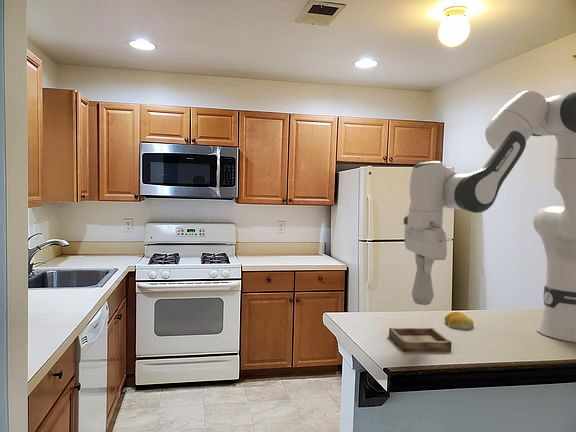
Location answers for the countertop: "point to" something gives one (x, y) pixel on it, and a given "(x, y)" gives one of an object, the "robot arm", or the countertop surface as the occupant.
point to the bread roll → (458, 320)
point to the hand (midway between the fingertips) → (423, 271)
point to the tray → (419, 339)
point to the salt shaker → (422, 284)
